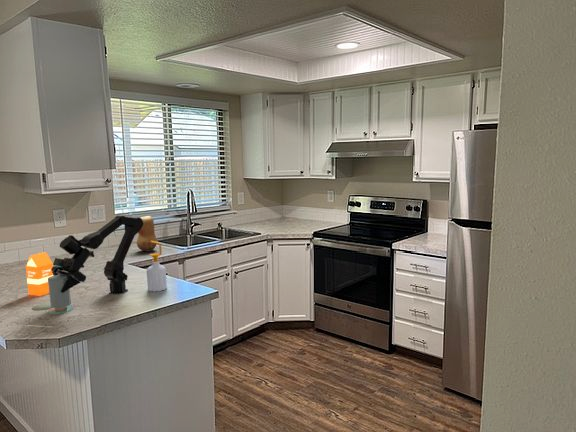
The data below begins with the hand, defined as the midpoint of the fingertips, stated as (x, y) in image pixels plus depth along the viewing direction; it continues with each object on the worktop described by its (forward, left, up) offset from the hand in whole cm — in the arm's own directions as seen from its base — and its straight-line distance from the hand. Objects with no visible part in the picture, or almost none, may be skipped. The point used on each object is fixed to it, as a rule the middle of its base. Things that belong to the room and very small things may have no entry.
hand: (56, 290), depth 185 cm
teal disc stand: (0, -1, -9) cm, 9 cm away
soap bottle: (-29, -35, -9) cm, 46 cm away
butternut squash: (+21, -118, -9) cm, 120 cm away
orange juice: (+27, -23, -9) cm, 36 cm away
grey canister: (-1, -1, -7) cm, 7 cm away
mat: (+10, -4, -9) cm, 14 cm away
